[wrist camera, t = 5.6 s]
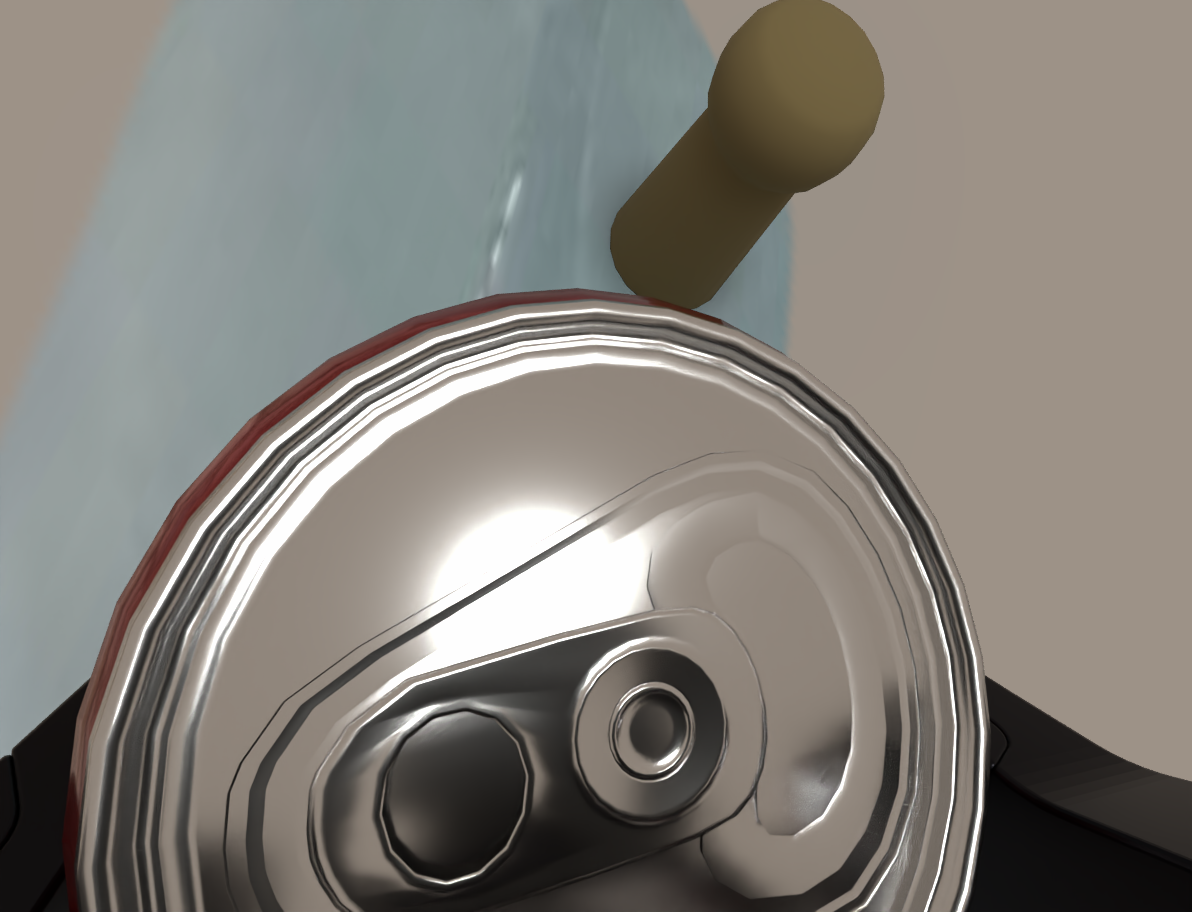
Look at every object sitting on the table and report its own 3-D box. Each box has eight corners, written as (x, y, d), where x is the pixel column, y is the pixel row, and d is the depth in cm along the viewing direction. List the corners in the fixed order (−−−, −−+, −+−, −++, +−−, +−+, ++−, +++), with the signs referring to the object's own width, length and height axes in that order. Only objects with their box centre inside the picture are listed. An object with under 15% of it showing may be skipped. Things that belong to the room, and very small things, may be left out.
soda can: (599, 449, 17) (944, 269, 5) (624, 688, 16) (1101, 1100, 4) (349, 466, 14) (-2, 226, 3) (363, 742, 14) (-44, 1807, 2)
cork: (746, 239, 26) (946, 50, 16) (694, 335, 25) (878, 197, 14) (646, 166, 25) (789, -91, 15) (586, 261, 24) (699, 53, 13)
